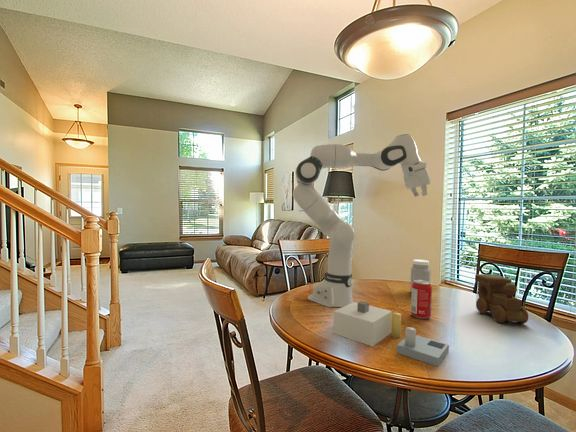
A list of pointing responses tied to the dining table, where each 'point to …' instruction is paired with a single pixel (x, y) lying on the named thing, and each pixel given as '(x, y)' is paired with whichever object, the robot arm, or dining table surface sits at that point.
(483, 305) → the wooden toy train
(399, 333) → the peg
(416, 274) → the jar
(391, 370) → the dining table surface
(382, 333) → the cover
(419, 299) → the soda can
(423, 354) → the board
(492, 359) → the dining table surface
